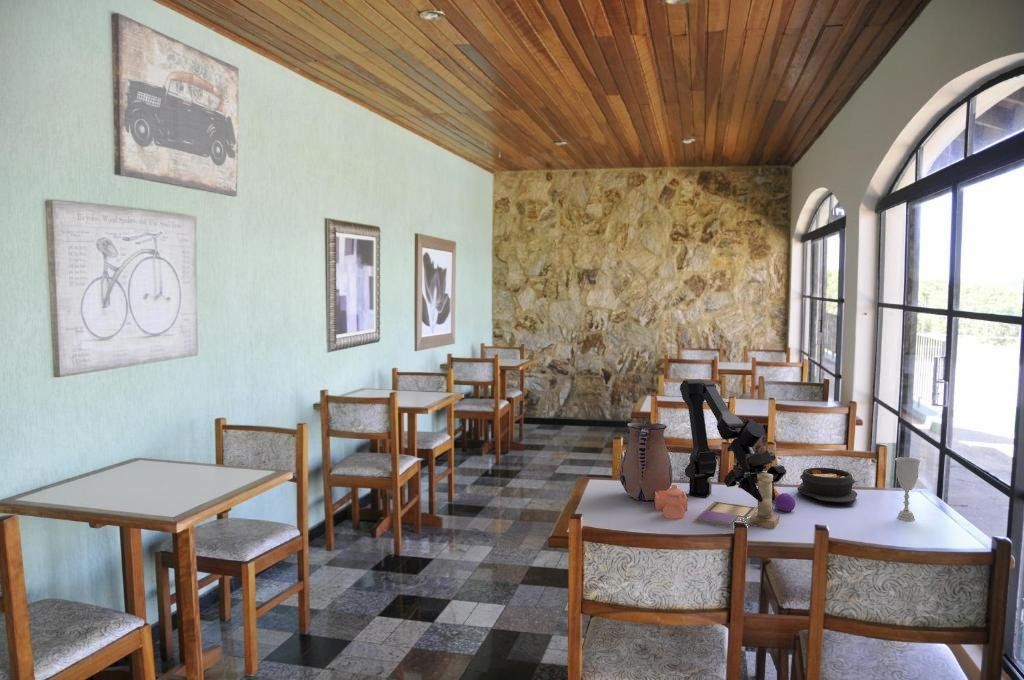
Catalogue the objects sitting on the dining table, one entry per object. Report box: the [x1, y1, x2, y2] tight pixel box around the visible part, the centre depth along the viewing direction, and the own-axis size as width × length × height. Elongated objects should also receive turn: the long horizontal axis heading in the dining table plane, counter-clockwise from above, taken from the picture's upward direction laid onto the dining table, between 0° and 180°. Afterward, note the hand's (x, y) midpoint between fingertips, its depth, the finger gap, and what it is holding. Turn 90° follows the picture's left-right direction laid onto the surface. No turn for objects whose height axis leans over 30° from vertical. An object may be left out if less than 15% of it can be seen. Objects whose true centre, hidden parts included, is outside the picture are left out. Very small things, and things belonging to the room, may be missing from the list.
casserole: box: [796, 467, 858, 503], centre depth 245 cm, size 25×19×8 cm
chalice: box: [894, 456, 921, 522], centre depth 221 cm, size 7×7×18 cm
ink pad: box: [695, 509, 738, 528], centre depth 220 cm, size 10×10×1 cm
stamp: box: [749, 473, 780, 529], centre depth 216 cm, size 7×7×15 cm
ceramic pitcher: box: [619, 421, 673, 501], centre depth 244 cm, size 18×21×25 cm
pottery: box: [653, 484, 688, 520], centre depth 230 cm, size 18×10×10 cm, turn 173°
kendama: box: [774, 487, 796, 513], centre depth 236 cm, size 6×6×20 cm
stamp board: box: [692, 501, 757, 529], centre depth 225 cm, size 14×25×1 cm, turn 149°
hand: (767, 500), depth 214 cm, fingers closed on stamp, 4 cm apart
